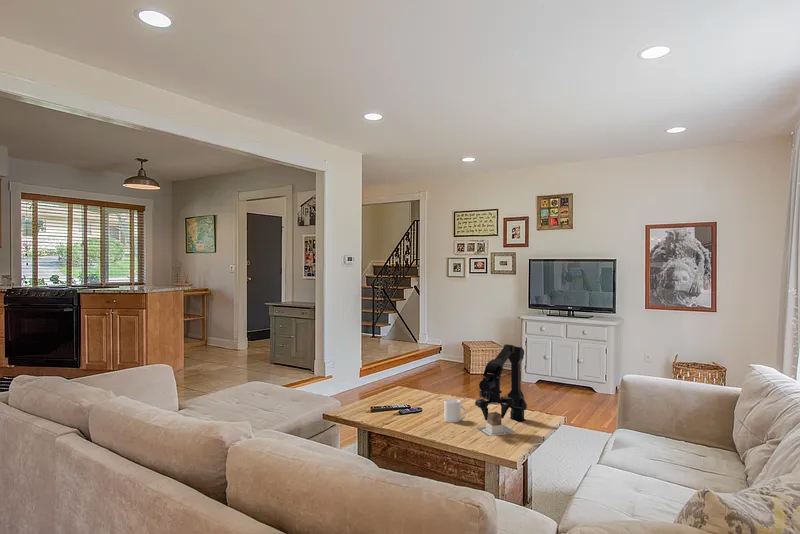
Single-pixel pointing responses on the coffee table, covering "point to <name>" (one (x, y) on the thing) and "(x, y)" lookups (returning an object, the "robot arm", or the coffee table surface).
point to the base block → (494, 429)
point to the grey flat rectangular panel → (505, 431)
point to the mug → (453, 410)
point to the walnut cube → (494, 418)
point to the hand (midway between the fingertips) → (494, 419)
